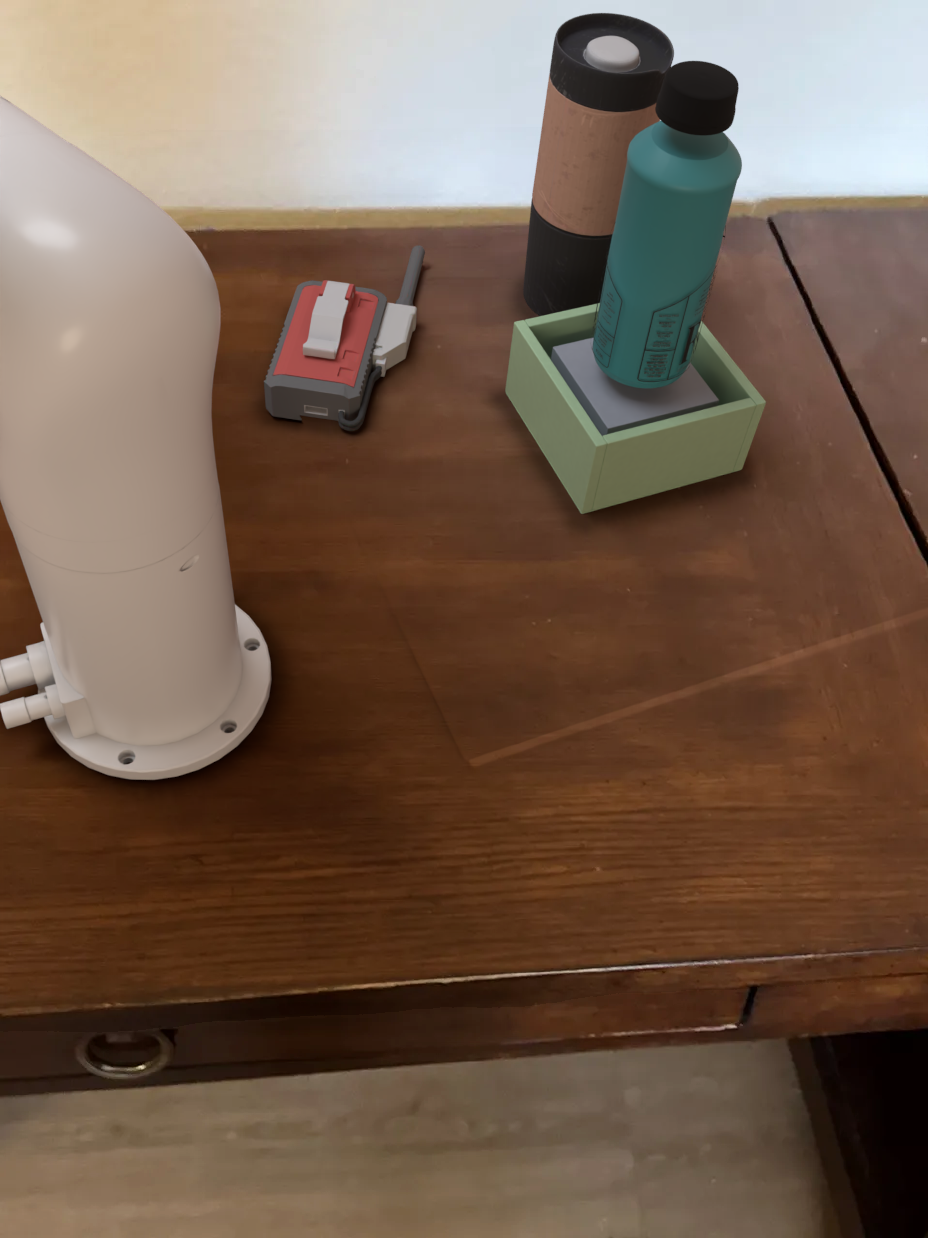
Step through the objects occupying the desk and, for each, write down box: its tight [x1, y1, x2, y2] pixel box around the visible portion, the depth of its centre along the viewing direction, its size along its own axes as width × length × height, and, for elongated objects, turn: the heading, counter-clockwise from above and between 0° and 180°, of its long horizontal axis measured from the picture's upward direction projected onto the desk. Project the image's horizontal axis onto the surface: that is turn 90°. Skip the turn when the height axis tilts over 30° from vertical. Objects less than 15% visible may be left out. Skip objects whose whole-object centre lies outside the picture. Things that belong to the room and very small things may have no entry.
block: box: [551, 338, 719, 436], centre depth 80 cm, size 8×8×5 cm
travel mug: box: [522, 12, 675, 317], centre depth 83 cm, size 8×8×20 cm
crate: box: [504, 303, 767, 515], centre depth 80 cm, size 12×12×7 cm
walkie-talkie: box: [263, 245, 426, 432], centre depth 85 cm, size 9×4×20 cm
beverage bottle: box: [591, 60, 743, 388], centre depth 70 cm, size 6×7×20 cm
